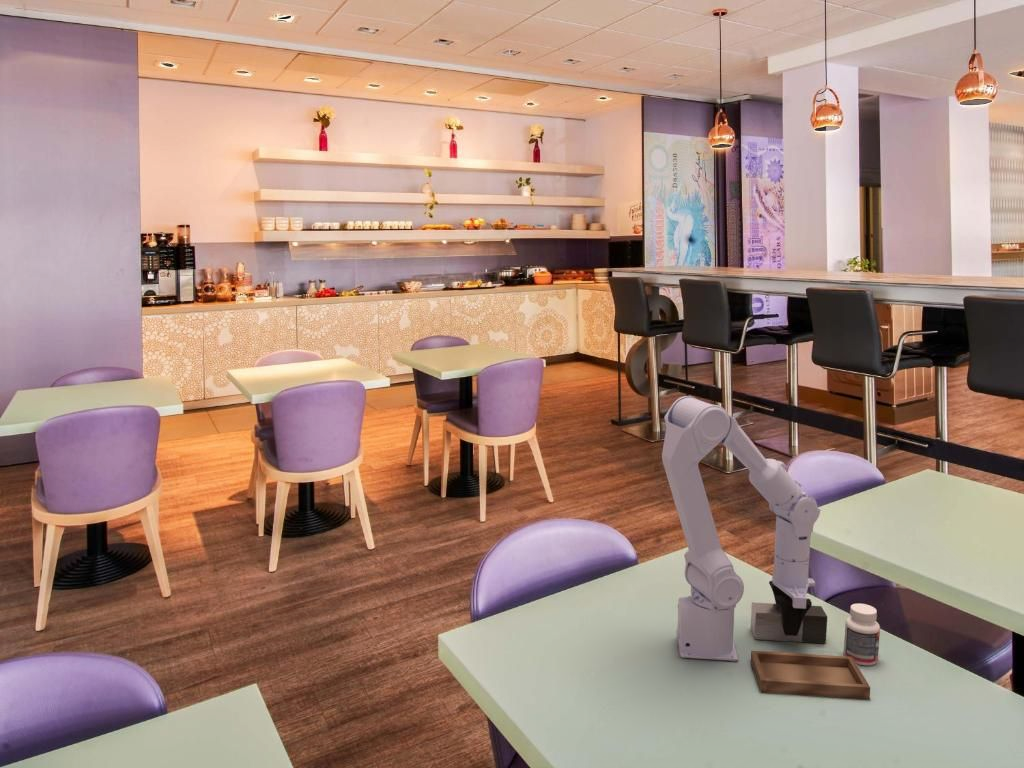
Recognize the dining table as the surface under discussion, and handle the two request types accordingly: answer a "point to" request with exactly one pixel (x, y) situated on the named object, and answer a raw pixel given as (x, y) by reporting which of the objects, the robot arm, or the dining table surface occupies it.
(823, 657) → the walnut tray
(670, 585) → the dining table surface
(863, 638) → the pill bottle
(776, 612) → the low gray brick
